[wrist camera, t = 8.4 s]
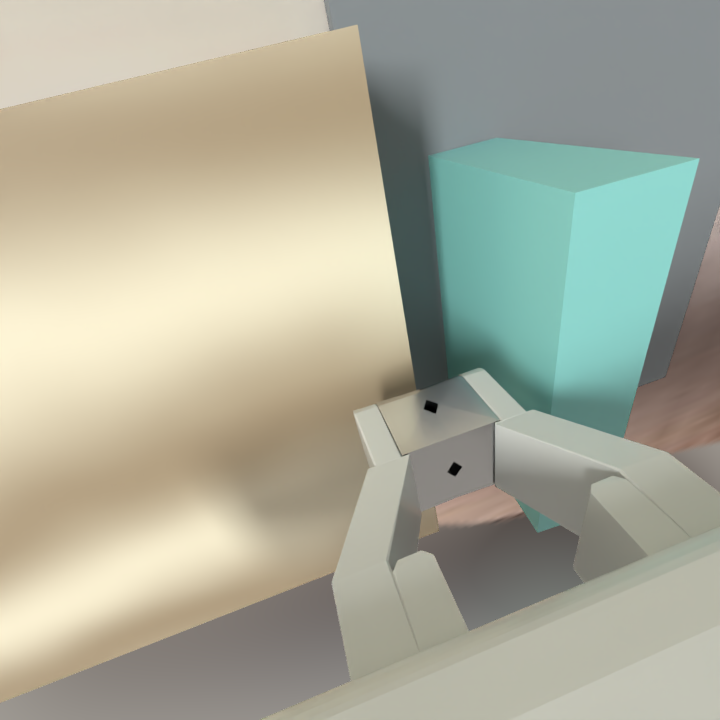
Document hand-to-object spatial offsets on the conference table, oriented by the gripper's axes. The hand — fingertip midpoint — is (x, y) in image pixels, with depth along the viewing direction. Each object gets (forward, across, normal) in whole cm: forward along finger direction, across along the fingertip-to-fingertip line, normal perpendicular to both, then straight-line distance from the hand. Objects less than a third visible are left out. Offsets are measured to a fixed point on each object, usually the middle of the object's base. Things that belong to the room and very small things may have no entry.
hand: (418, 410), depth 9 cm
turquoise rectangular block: (+2, -3, 0) cm, 3 cm away
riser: (+5, +8, 0) cm, 9 cm away
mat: (+5, -7, 0) cm, 9 cm away
